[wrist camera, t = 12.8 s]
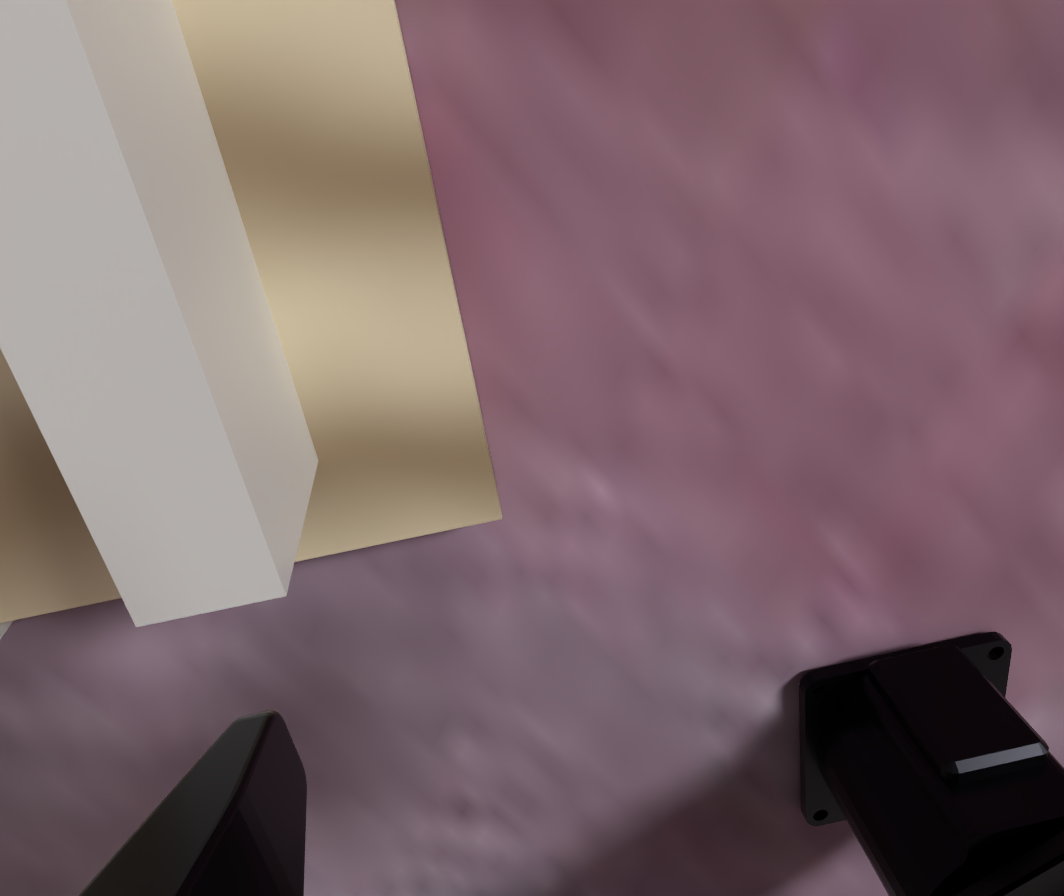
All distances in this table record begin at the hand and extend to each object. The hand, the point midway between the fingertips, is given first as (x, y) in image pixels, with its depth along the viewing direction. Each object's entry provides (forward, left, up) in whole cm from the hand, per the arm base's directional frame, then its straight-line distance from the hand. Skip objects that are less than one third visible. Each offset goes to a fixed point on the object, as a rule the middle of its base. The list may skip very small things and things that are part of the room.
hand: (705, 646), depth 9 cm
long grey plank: (+4, +7, -10) cm, 13 cm away
